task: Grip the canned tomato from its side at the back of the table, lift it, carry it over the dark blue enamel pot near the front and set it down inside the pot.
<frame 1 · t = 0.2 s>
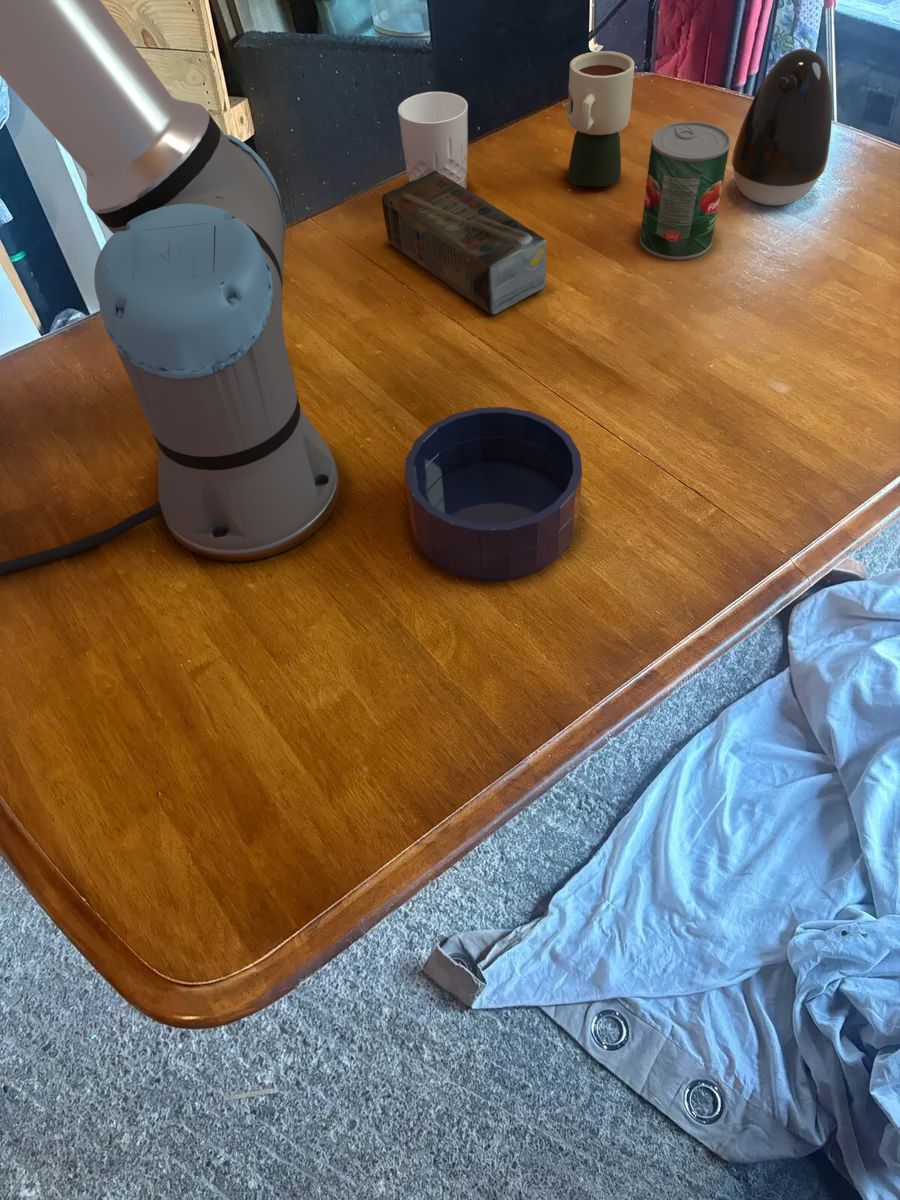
character mug: (593, 182, 108), on the table
canned tomato: (675, 242, 99), on the table
dark brown egg shape: (769, 196, 104), on the table
beverage carton: (464, 268, 98), on the table
pot: (494, 517, 74), on the table
white cup: (438, 195, 108), on the table
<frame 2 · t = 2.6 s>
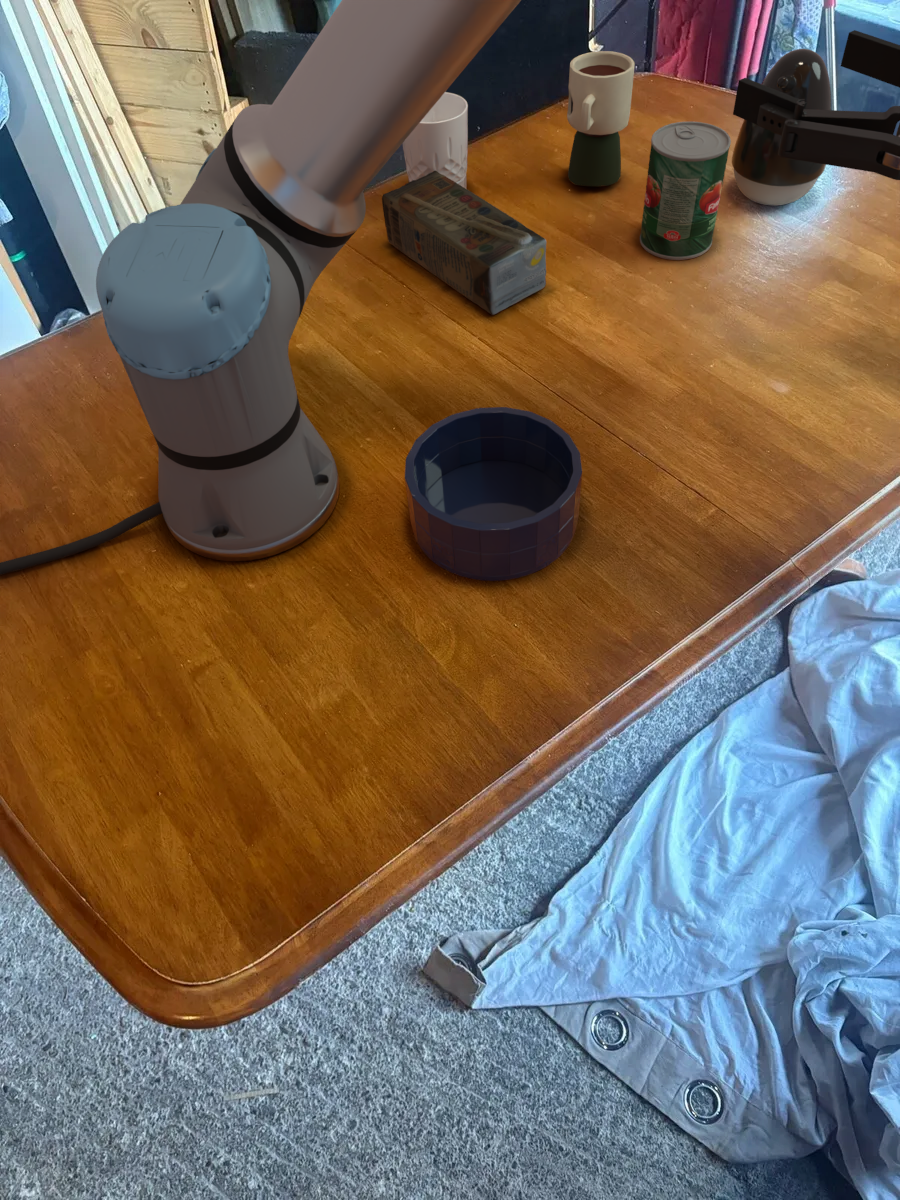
hand: (794, 71, 77), 20 cm above the table, tool horizontal, fingers open, 13 cm apart
nothing on the table moved.
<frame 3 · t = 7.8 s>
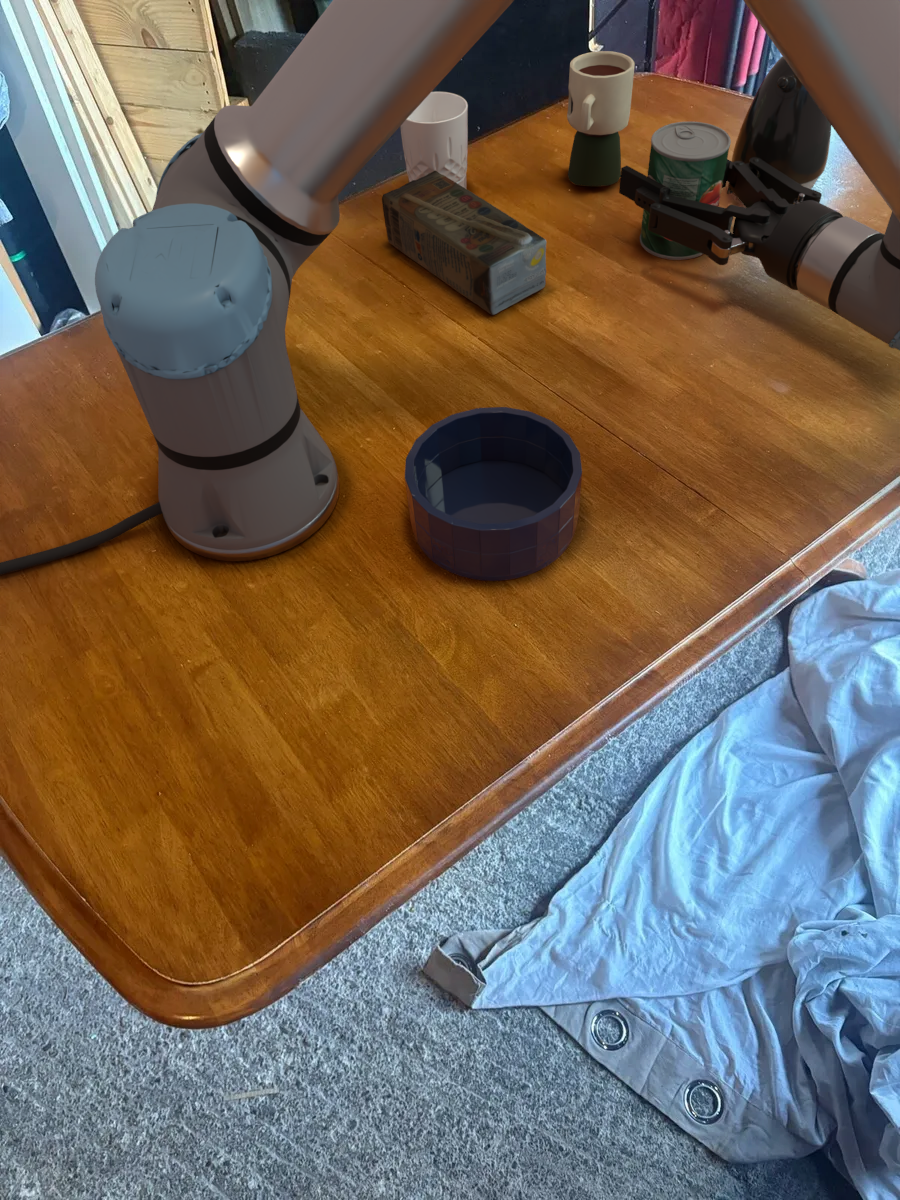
hand: (652, 166, 96), 6 cm above the table, tool horizontal, fingers closed on canned tomato, 8 cm apart
canned tomato: (675, 242, 99), on the table, touching gripper
everything else where it was.
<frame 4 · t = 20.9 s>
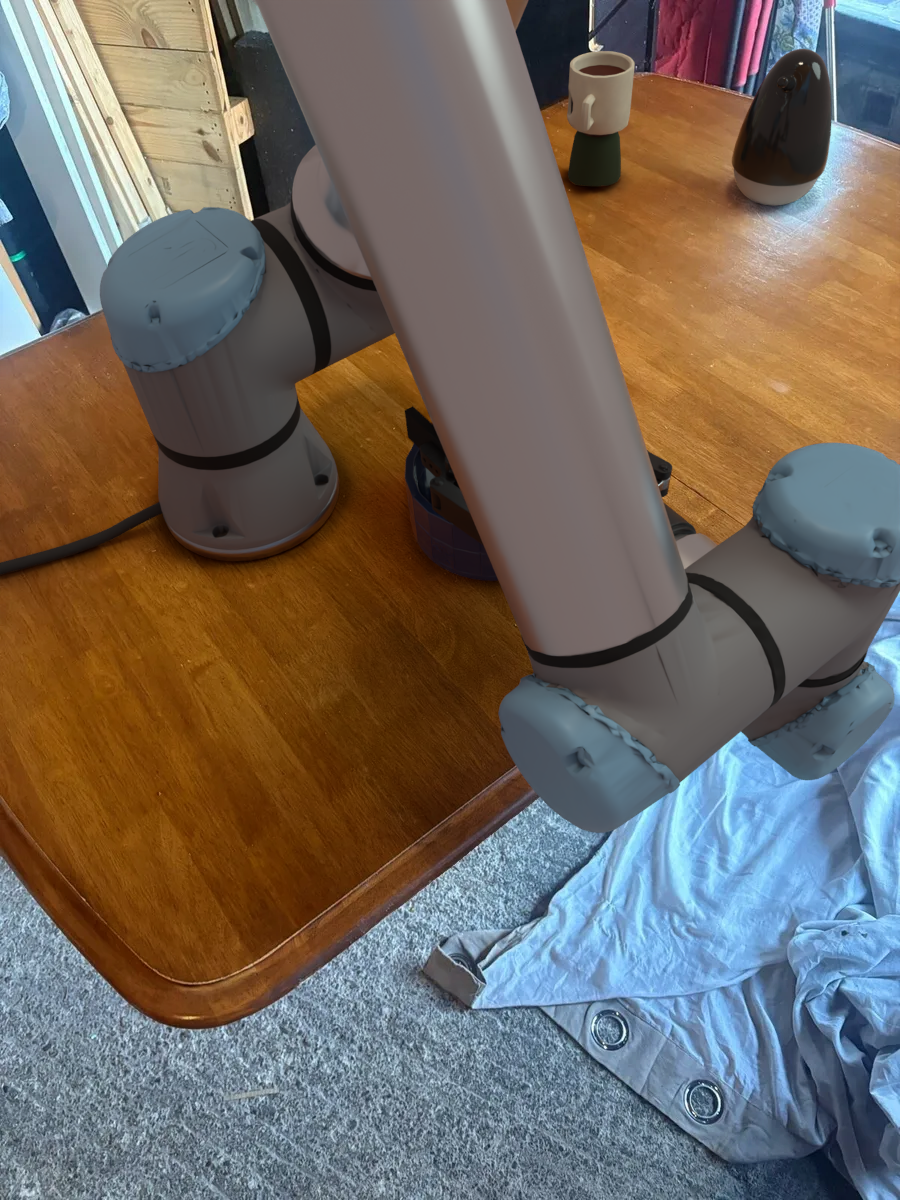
hand: (455, 399, 70), 9 cm above the table, tool horizontal, fingers closed on canned tomato, 8 cm apart
canned tomato: (494, 494, 72), point 3 cm above the table, touching gripper
everything else where it was.
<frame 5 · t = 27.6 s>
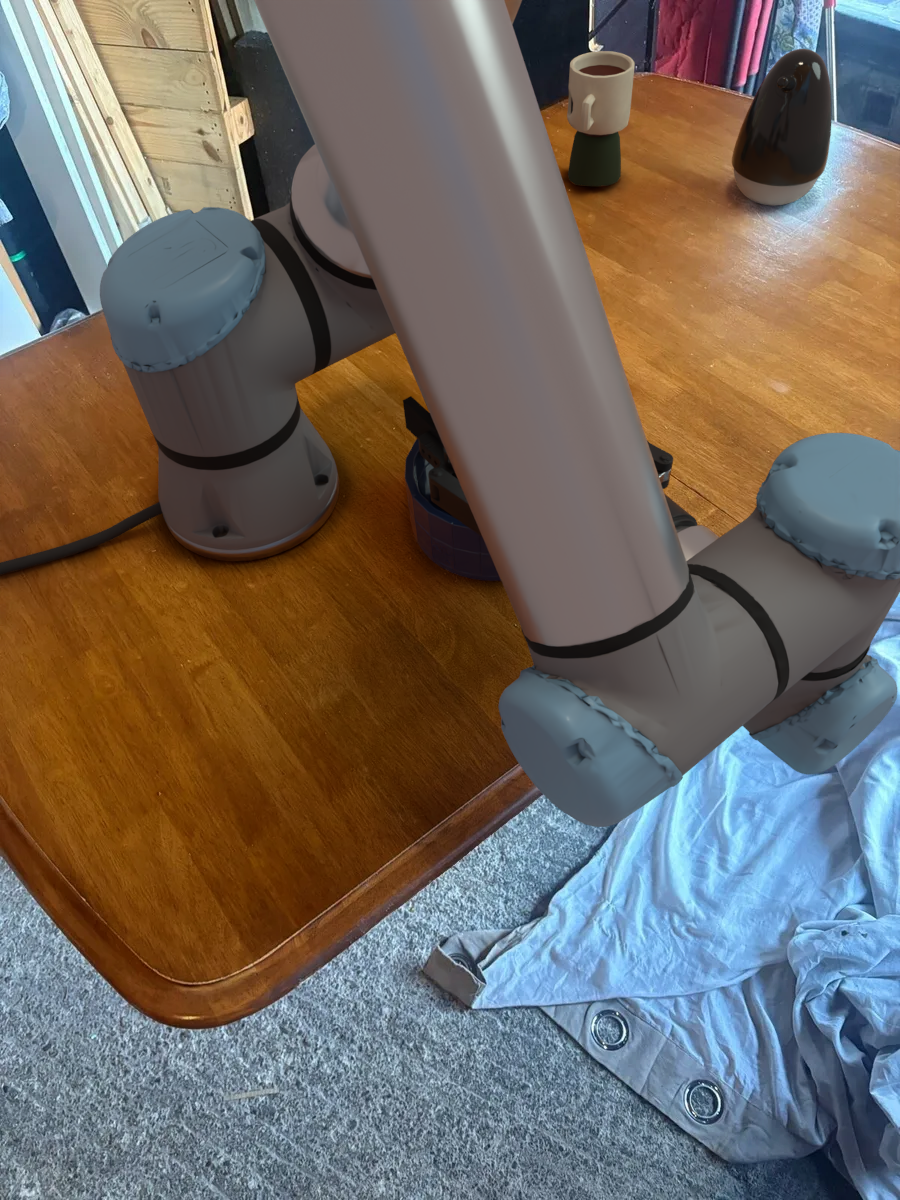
hand: (454, 389, 69), 10 cm above the table, tool horizontal, fingers closed on canned tomato, 8 cm apart
canned tomato: (493, 486, 72), point 4 cm above the table, touching gripper
everything else where it was.
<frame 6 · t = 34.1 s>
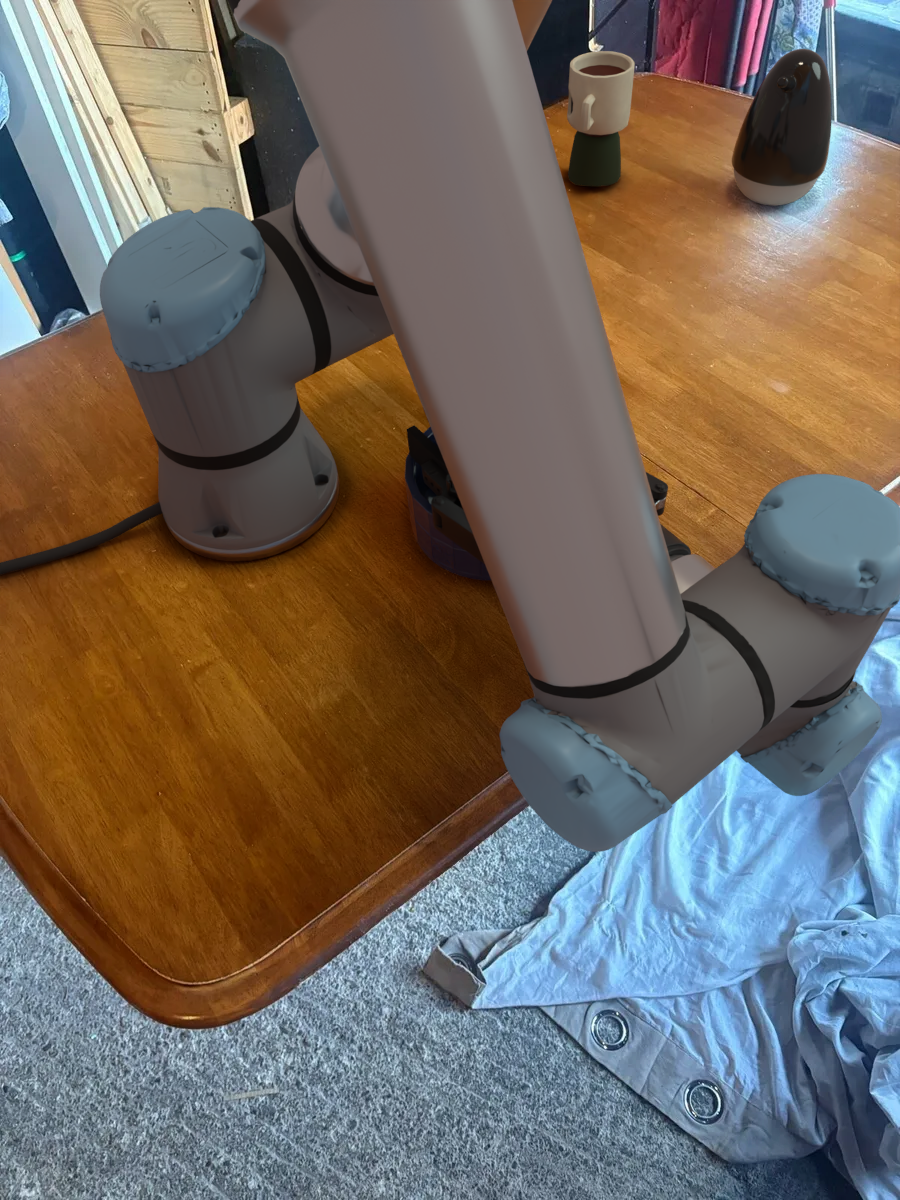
hand: (456, 417, 71), 8 cm above the table, tool horizontal, fingers closed on canned tomato, 8 cm apart
canned tomato: (494, 510, 74), point 1 cm above the table, touching gripper
everything else where it was.
when the fingers open (11 cm above the table, at t = 35.2 s): canned tomato drops 4 cm, resting on pot.
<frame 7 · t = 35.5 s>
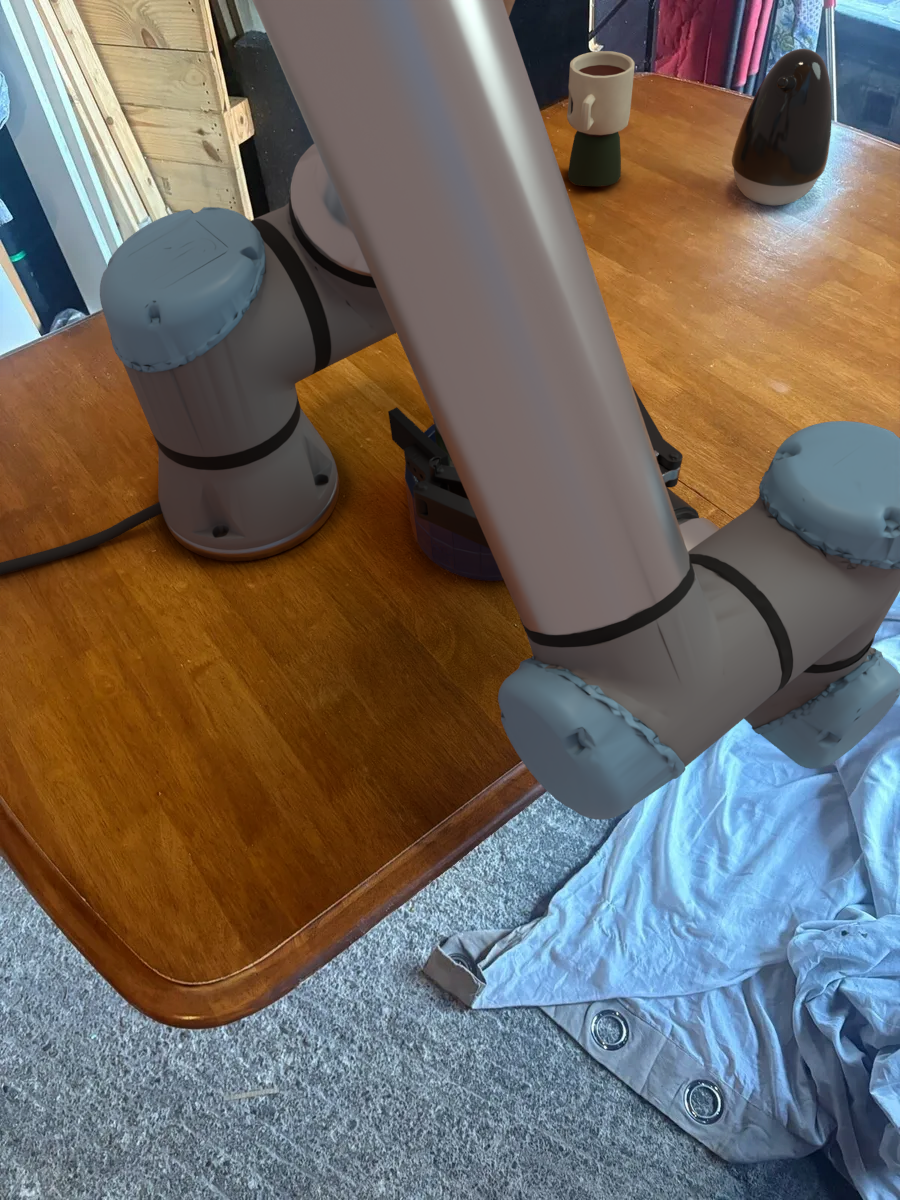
hand: (461, 389, 68), 11 cm above the table, tool horizontal, fingers open, 12 cm apart
canned tomato: (489, 517, 74), resting on pot
everything else where it was.
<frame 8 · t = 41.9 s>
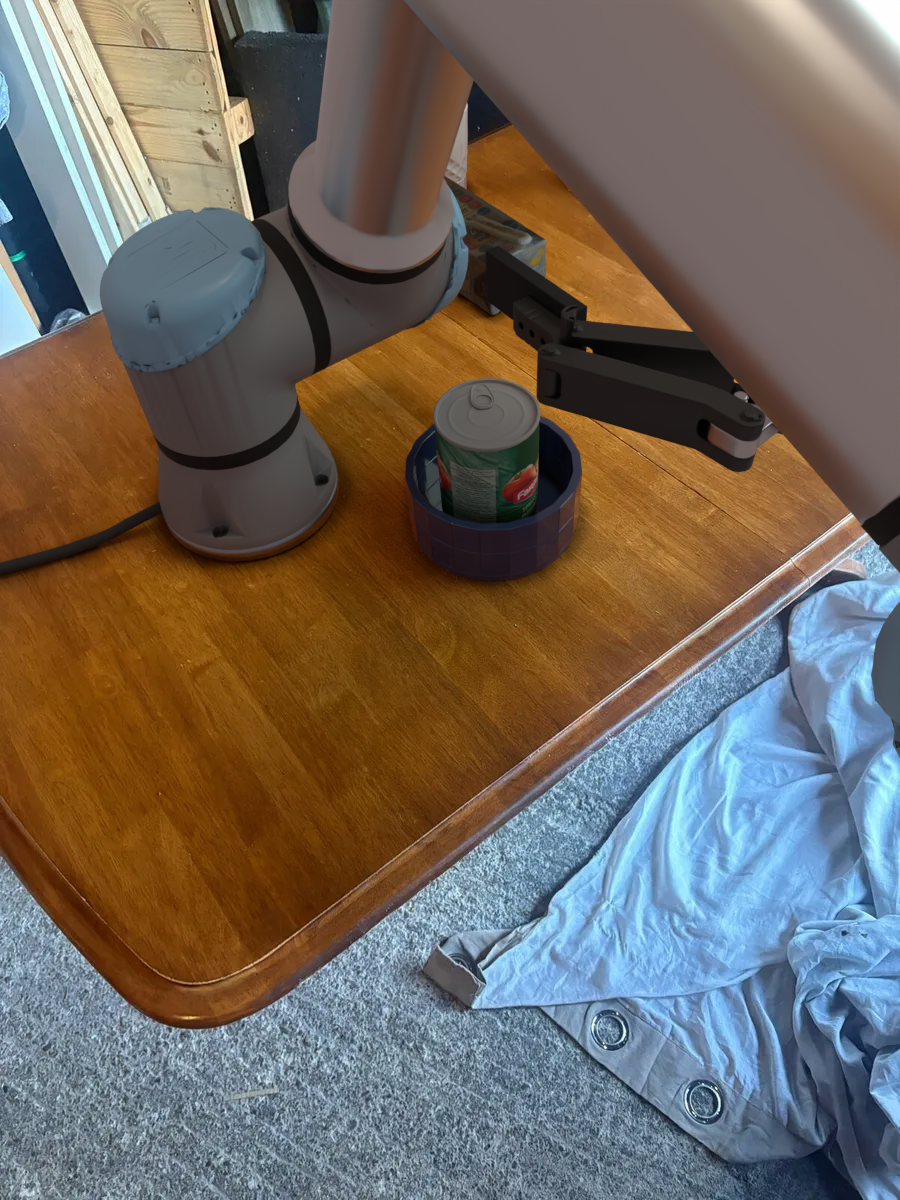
hand: (597, 224, 46), 30 cm above the table, tool horizontal, fingers open, 13 cm apart
nothing on the table moved.
at the end: canned tomato inside the target area in the pot (0.5 cm from its centre), point 0.4 cm above the pot's base; canned tomato tilted 0°; the gripper is holding nothing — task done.
